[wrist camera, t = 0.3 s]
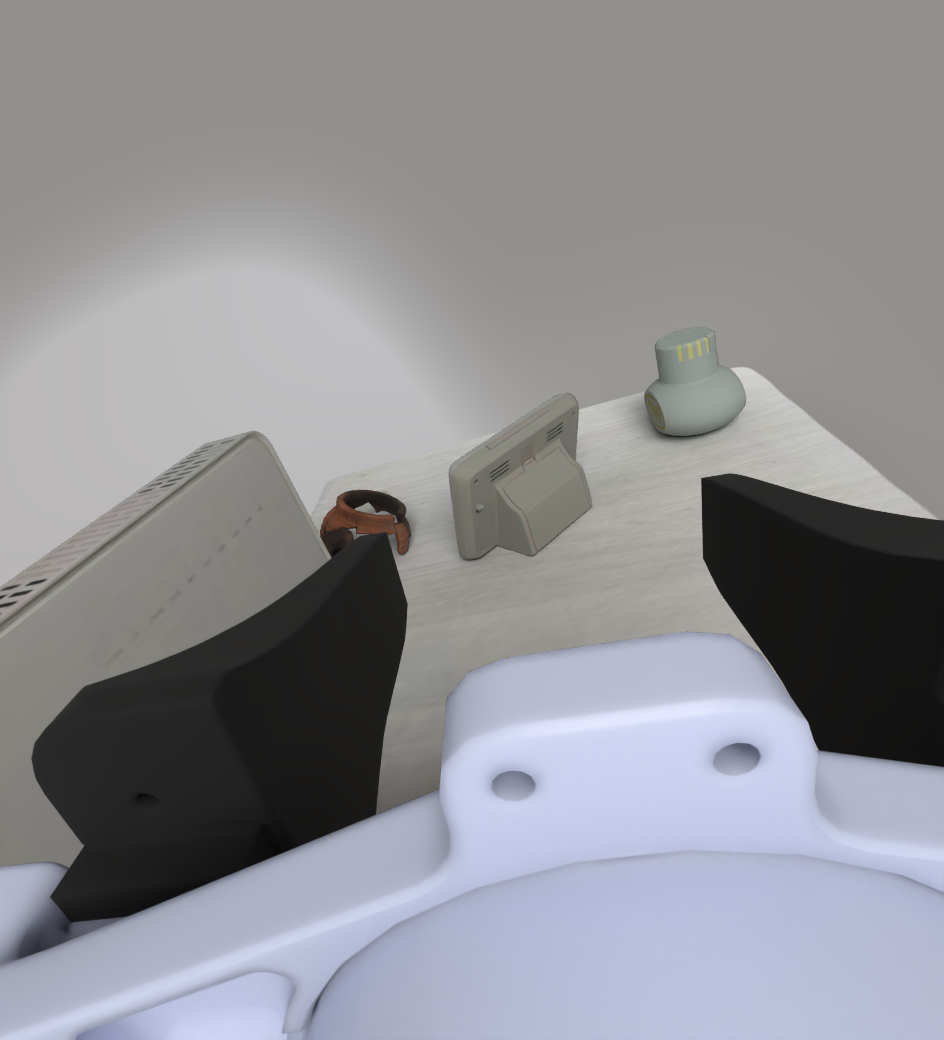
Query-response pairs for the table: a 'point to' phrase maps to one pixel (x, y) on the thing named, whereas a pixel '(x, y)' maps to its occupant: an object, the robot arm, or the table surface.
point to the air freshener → (692, 385)
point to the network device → (139, 604)
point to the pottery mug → (364, 520)
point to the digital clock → (521, 483)
